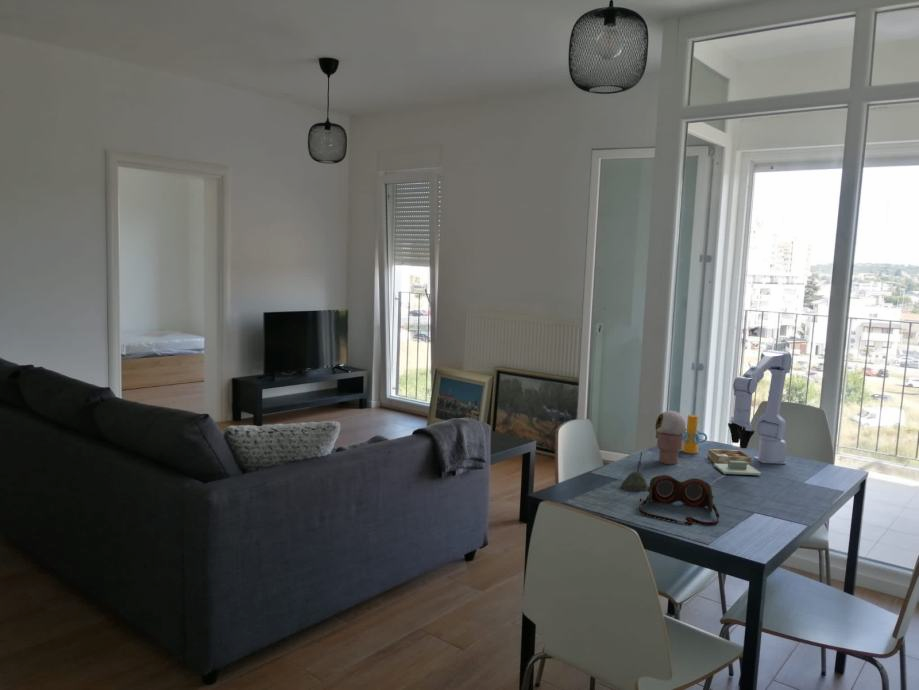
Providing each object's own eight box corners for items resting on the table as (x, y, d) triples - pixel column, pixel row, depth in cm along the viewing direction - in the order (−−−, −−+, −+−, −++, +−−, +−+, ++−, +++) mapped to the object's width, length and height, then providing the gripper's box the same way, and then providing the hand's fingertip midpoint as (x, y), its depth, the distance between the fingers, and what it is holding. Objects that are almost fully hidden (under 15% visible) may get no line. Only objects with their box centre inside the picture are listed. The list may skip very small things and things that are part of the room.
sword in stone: (637, 494, 233) (638, 458, 232) (616, 489, 238) (618, 454, 237) (653, 488, 240) (655, 453, 239) (633, 483, 245) (634, 449, 244)
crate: (740, 459, 282) (741, 450, 282) (750, 466, 272) (751, 457, 272) (707, 457, 282) (708, 449, 282) (716, 464, 272) (717, 455, 272)
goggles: (646, 523, 206) (650, 490, 205) (625, 498, 229) (628, 468, 228) (729, 529, 207) (733, 495, 206) (699, 503, 230) (703, 473, 229)
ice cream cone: (647, 458, 276) (651, 408, 274) (671, 457, 280) (675, 407, 277) (663, 466, 266) (667, 414, 264) (688, 465, 270) (692, 413, 267)
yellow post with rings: (670, 447, 295) (673, 412, 293) (694, 447, 297) (697, 412, 295) (685, 456, 283) (688, 419, 281) (709, 455, 285) (712, 419, 283)
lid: (749, 469, 269) (749, 458, 269) (760, 477, 259) (761, 466, 259) (713, 467, 269) (714, 457, 269) (723, 475, 259) (724, 464, 259)
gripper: (724, 404, 269) (721, 439, 270) (739, 413, 254) (736, 450, 256) (742, 405, 269) (739, 440, 270) (759, 413, 254) (755, 450, 256)
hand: (739, 445), depth 263 cm, fingers open, 7 cm apart
